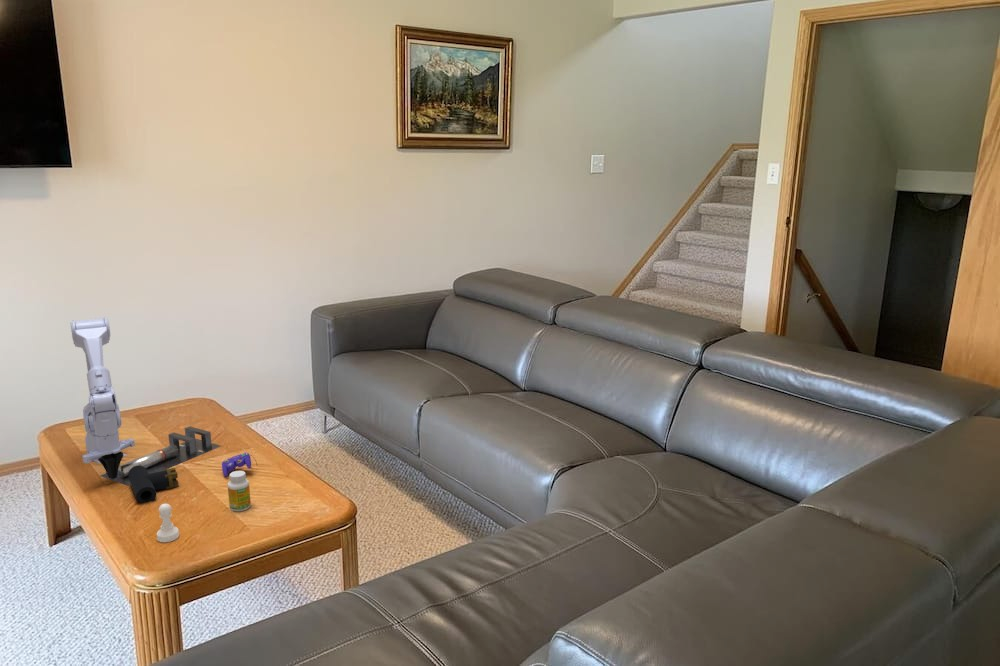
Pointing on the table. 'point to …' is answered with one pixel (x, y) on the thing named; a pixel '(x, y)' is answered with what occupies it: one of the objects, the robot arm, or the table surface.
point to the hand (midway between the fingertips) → (112, 477)
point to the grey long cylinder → (149, 459)
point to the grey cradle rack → (186, 451)
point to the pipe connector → (150, 482)
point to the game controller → (236, 463)
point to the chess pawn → (166, 525)
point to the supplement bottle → (239, 491)
